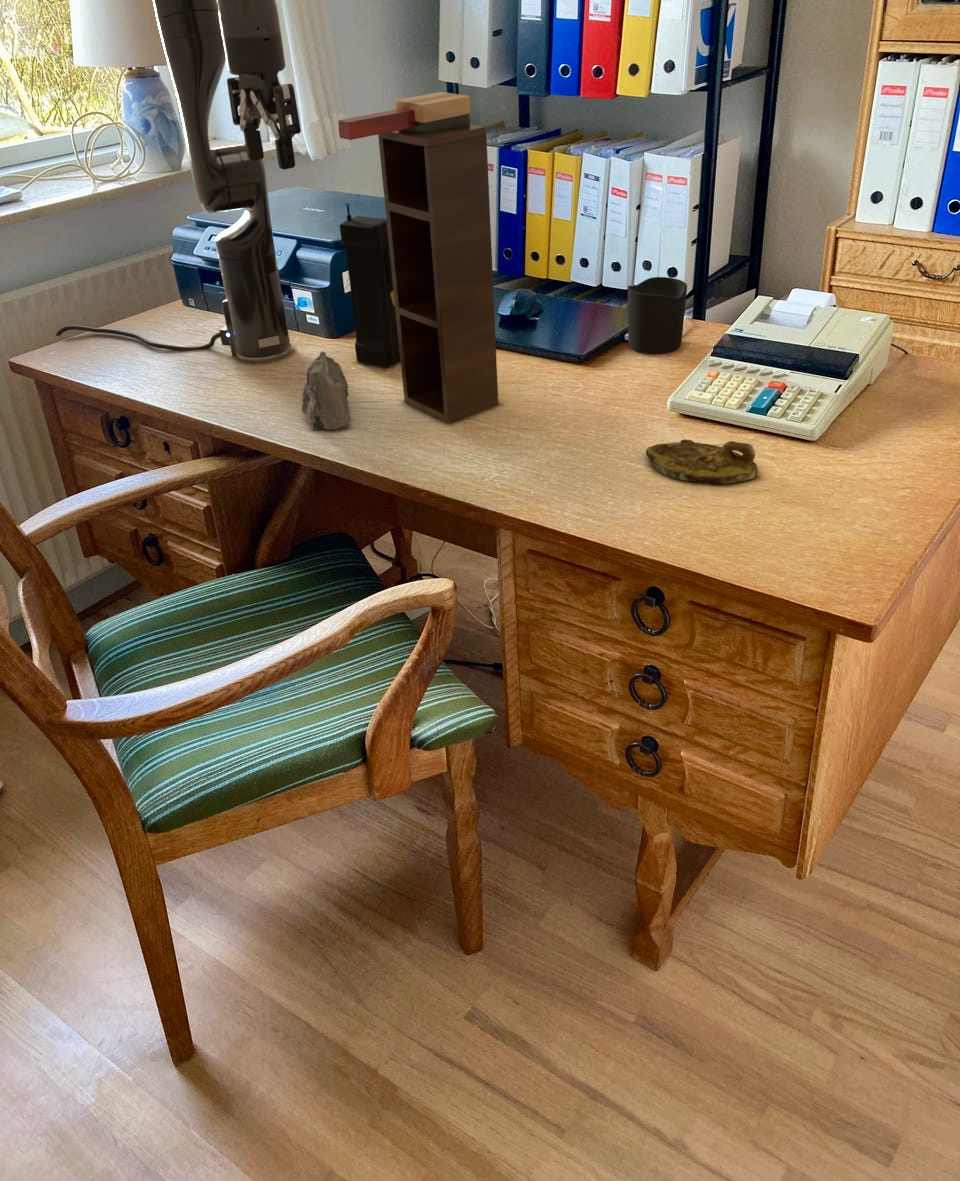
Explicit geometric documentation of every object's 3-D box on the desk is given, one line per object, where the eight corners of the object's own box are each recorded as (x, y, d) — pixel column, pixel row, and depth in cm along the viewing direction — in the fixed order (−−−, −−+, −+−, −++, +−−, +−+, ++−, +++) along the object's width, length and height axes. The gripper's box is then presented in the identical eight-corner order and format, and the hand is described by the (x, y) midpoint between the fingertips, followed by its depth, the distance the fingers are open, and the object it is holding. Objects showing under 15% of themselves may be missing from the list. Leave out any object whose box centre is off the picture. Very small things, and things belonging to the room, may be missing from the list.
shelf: (404, 402, 156) (377, 129, 135) (453, 384, 161) (434, 118, 139) (448, 424, 149) (427, 139, 127) (498, 404, 154) (486, 126, 132)
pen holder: (687, 354, 166) (691, 293, 161) (629, 357, 167) (631, 296, 161) (678, 334, 174) (682, 275, 168) (623, 337, 174) (624, 278, 169)
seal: (633, 479, 134) (748, 498, 128) (633, 449, 131) (750, 466, 125) (655, 442, 140) (766, 458, 135) (655, 412, 137) (768, 427, 132)
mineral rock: (329, 391, 161) (320, 329, 156) (387, 401, 157) (380, 338, 151) (279, 424, 152) (268, 359, 146) (339, 436, 147) (330, 370, 142)
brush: (332, 142, 129) (328, 112, 127) (443, 120, 137) (441, 91, 136) (359, 148, 125) (355, 117, 123) (471, 125, 134) (469, 95, 132)
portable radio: (414, 357, 171) (400, 202, 157) (393, 369, 167) (376, 211, 153) (377, 350, 175) (359, 197, 161) (355, 362, 171) (335, 206, 157)
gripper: (199, 31, 135) (223, 162, 145) (252, 37, 126) (274, 176, 135) (249, 25, 139) (269, 152, 148) (304, 30, 130) (322, 166, 139)
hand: (271, 163), depth 142 cm, fingers open, 8 cm apart
